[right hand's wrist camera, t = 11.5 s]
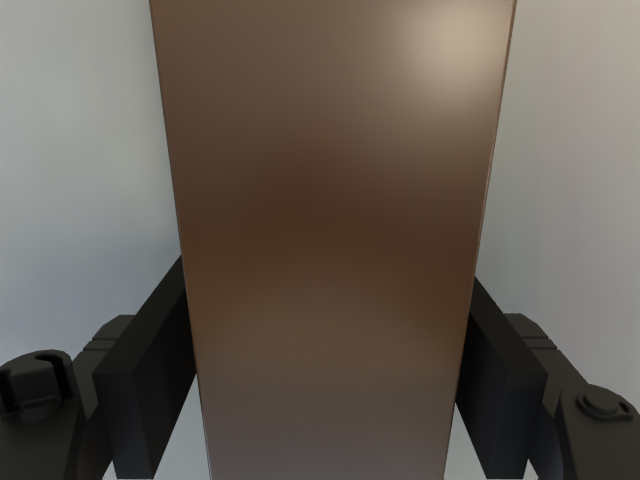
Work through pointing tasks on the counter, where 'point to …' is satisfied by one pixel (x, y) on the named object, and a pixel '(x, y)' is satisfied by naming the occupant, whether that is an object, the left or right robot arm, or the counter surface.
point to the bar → (330, 221)
